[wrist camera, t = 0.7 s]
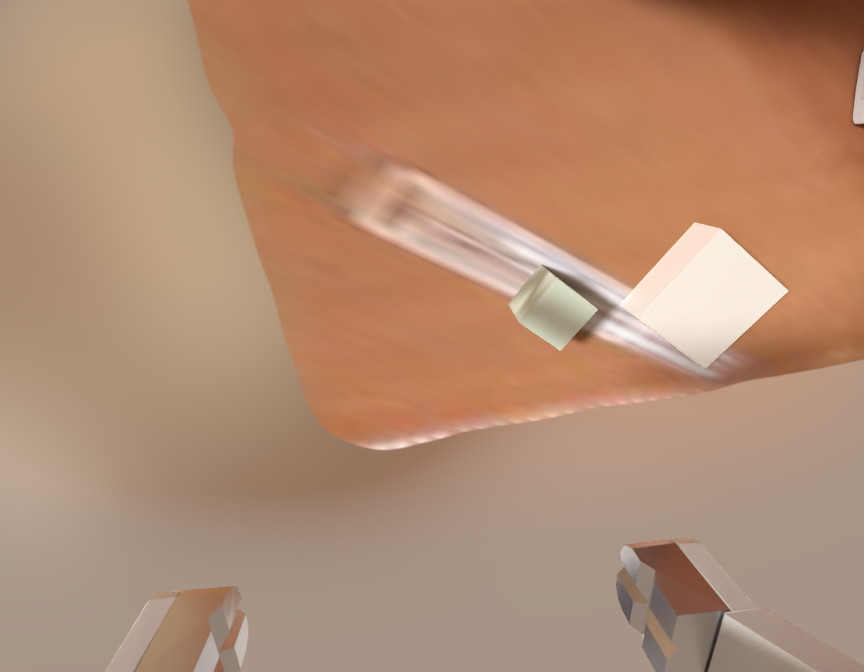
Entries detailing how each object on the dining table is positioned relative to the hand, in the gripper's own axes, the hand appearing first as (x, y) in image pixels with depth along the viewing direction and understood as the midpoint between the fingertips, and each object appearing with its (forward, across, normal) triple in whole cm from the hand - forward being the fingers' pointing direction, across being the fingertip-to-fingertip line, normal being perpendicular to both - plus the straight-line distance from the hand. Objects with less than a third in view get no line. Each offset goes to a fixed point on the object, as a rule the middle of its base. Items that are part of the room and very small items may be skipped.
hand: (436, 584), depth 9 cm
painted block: (+32, -29, +3) cm, 43 cm away
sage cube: (+32, -14, +2) cm, 35 cm away
